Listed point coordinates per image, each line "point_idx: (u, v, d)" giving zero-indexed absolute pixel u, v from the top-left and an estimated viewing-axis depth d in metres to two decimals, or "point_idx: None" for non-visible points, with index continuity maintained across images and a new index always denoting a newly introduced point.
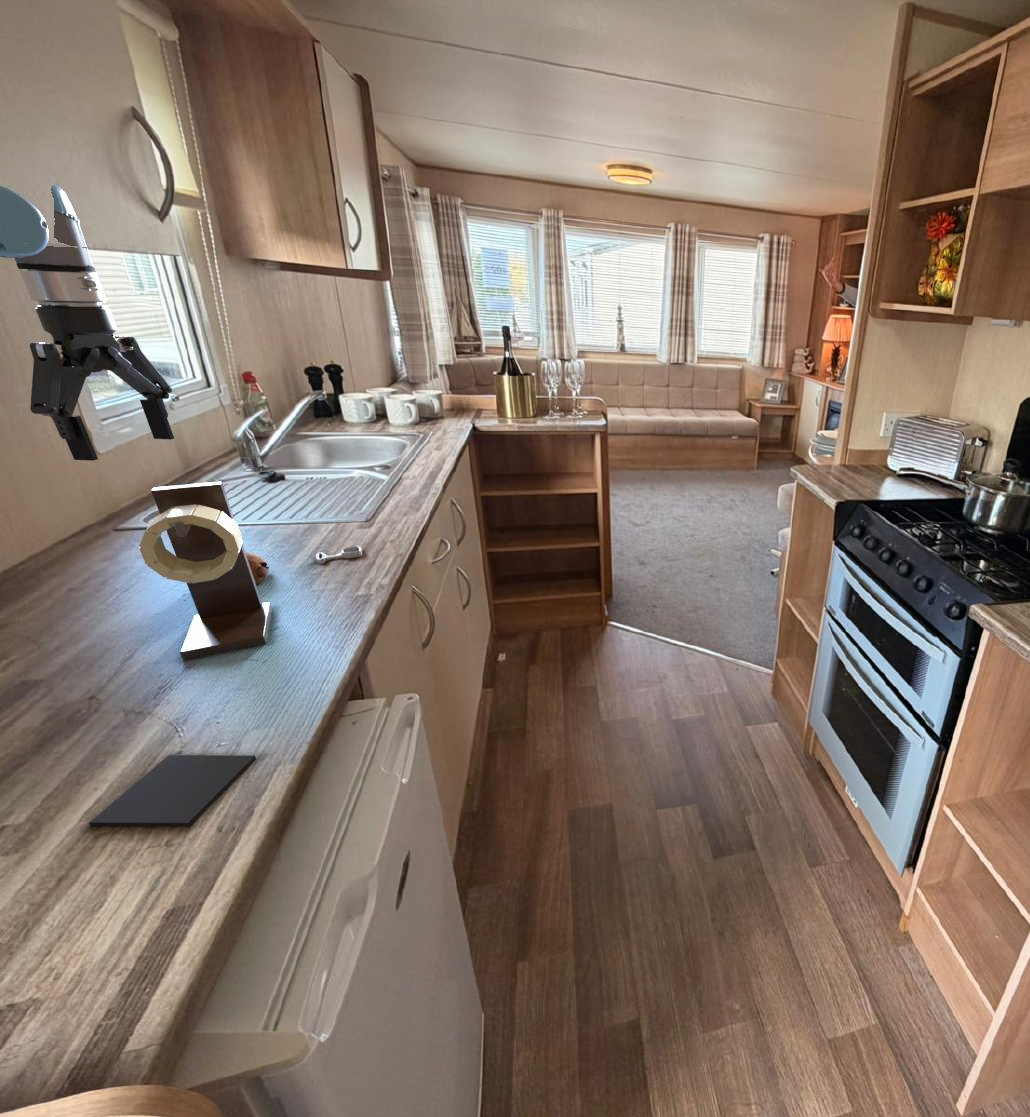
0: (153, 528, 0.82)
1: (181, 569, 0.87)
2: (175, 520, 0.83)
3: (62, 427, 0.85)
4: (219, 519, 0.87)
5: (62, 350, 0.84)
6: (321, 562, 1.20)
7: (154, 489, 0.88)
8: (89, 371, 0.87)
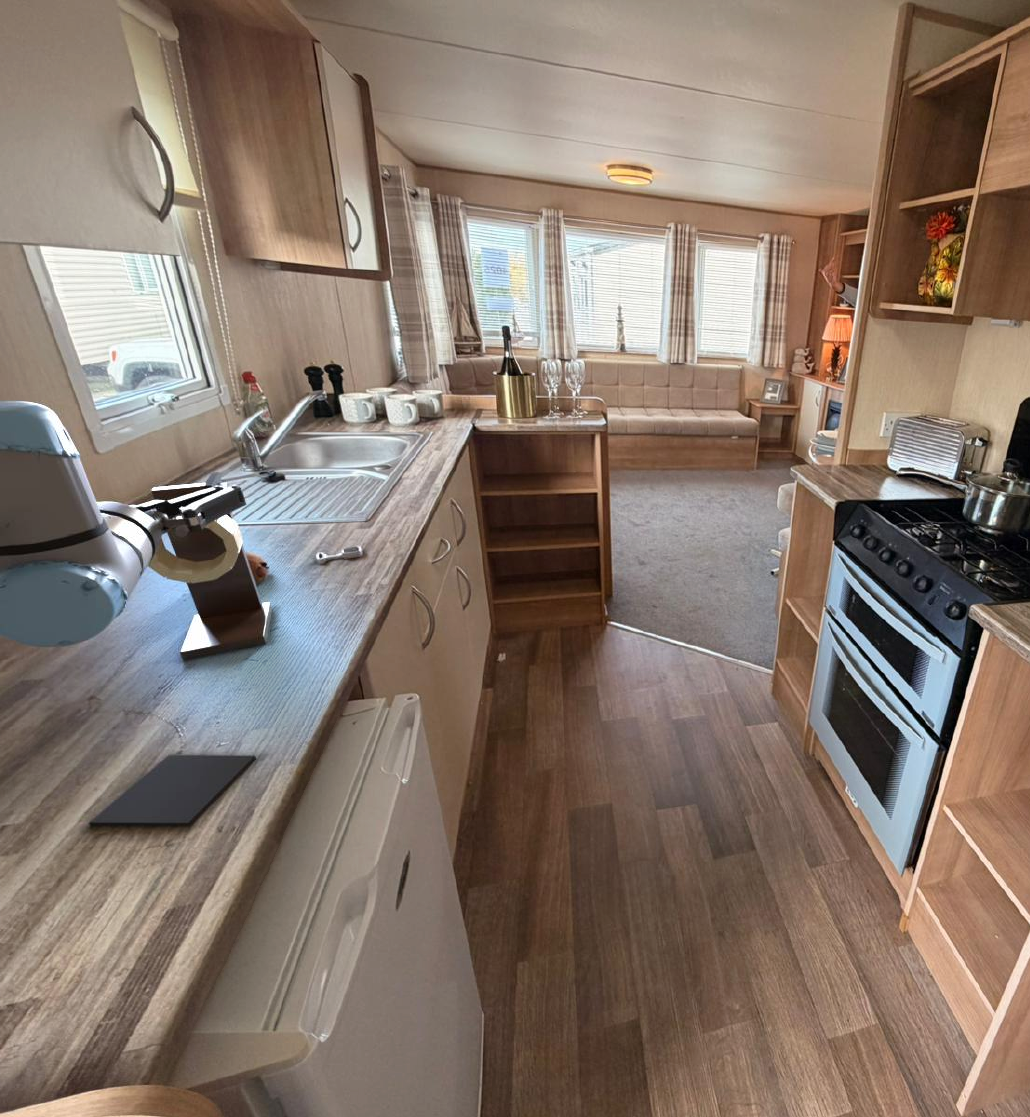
0: None
1: (181, 569, 0.87)
2: None
3: None
4: (219, 519, 0.87)
5: None
6: (321, 562, 1.20)
7: (154, 489, 0.88)
8: None
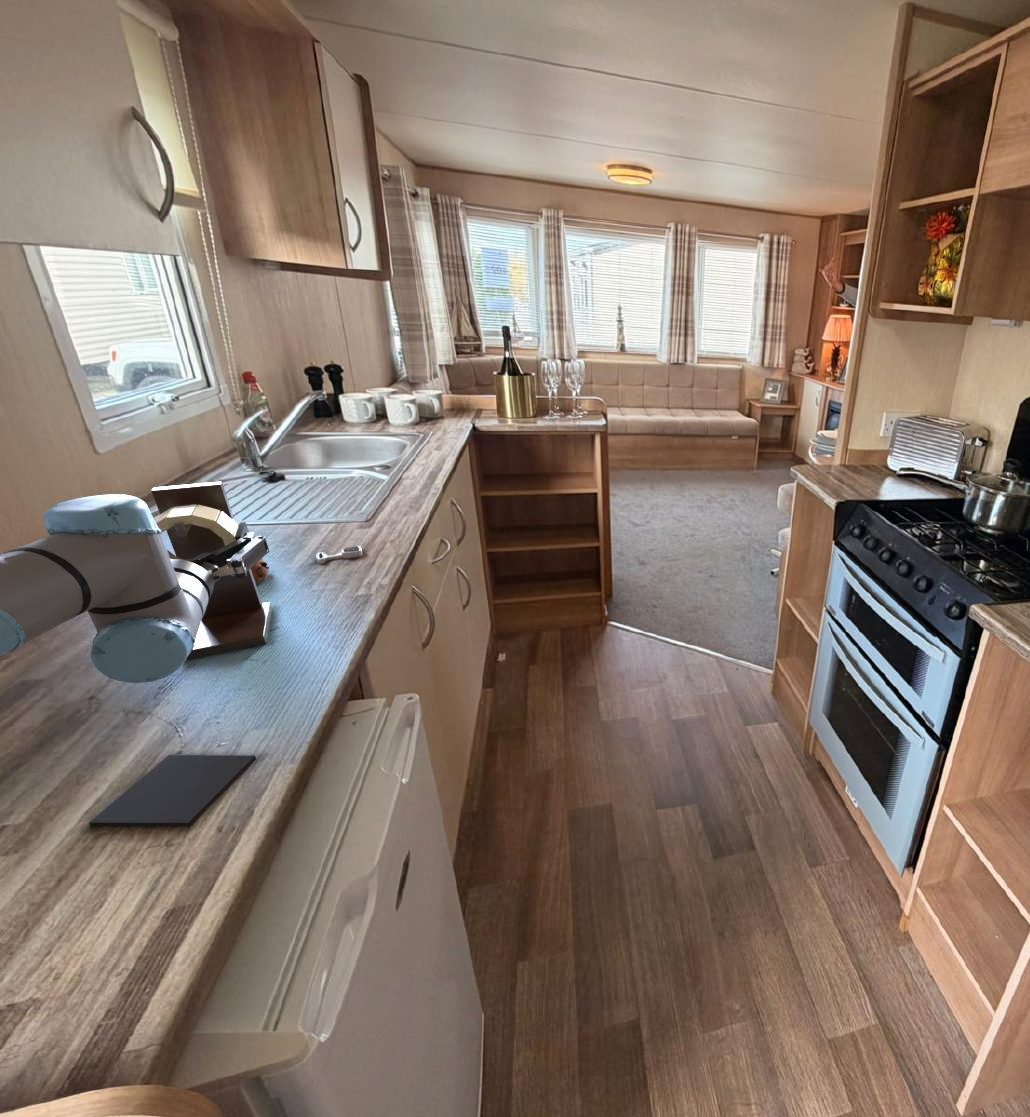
0: None
1: None
2: (175, 520, 0.83)
3: None
4: (219, 519, 0.87)
5: None
6: (321, 562, 1.20)
7: (154, 489, 0.88)
8: None
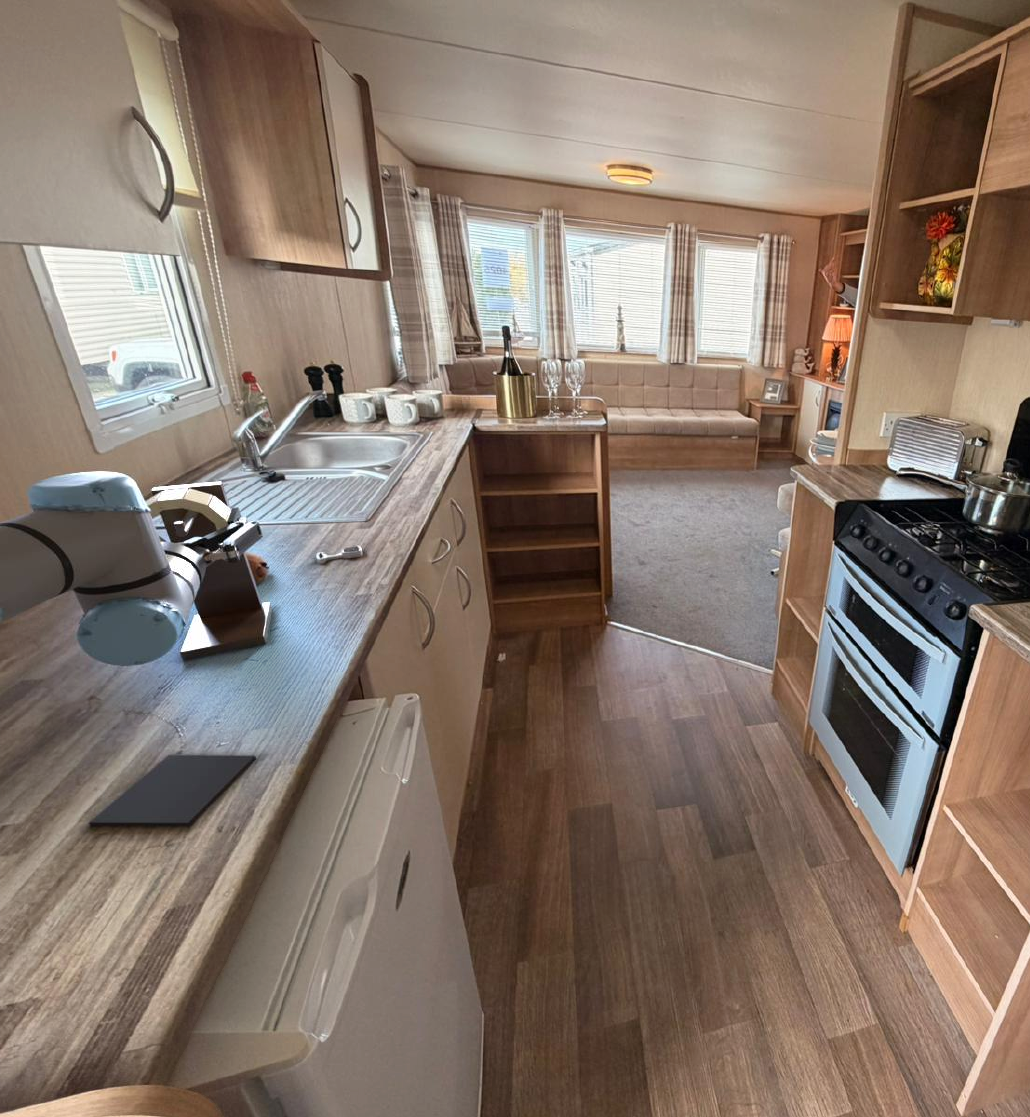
0: None
1: None
2: (166, 504, 0.81)
3: None
4: (211, 503, 0.85)
5: None
6: (321, 562, 1.20)
7: (154, 489, 0.88)
8: None
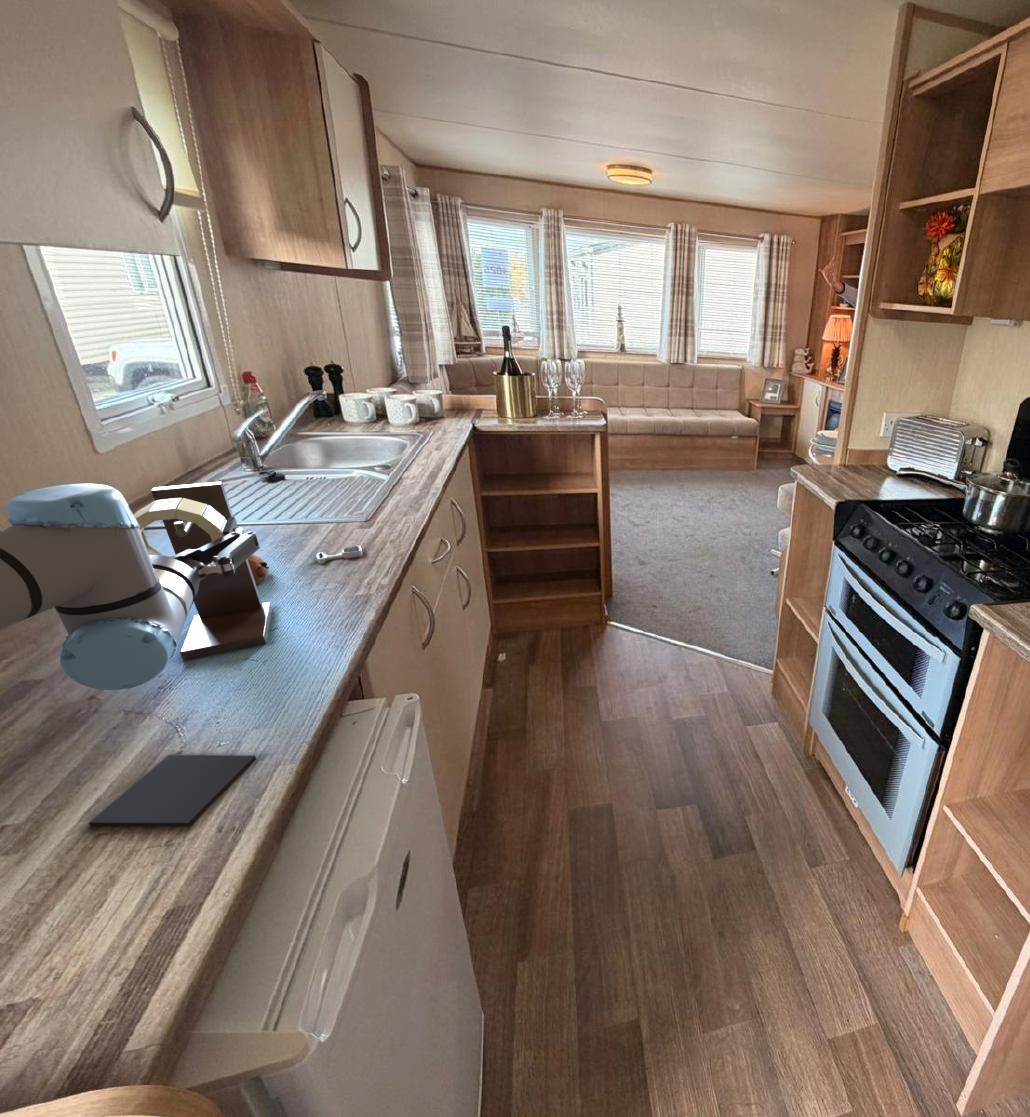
0: None
1: None
2: (158, 514, 0.78)
3: None
4: (206, 513, 0.82)
5: None
6: (321, 562, 1.20)
7: (154, 489, 0.88)
8: None
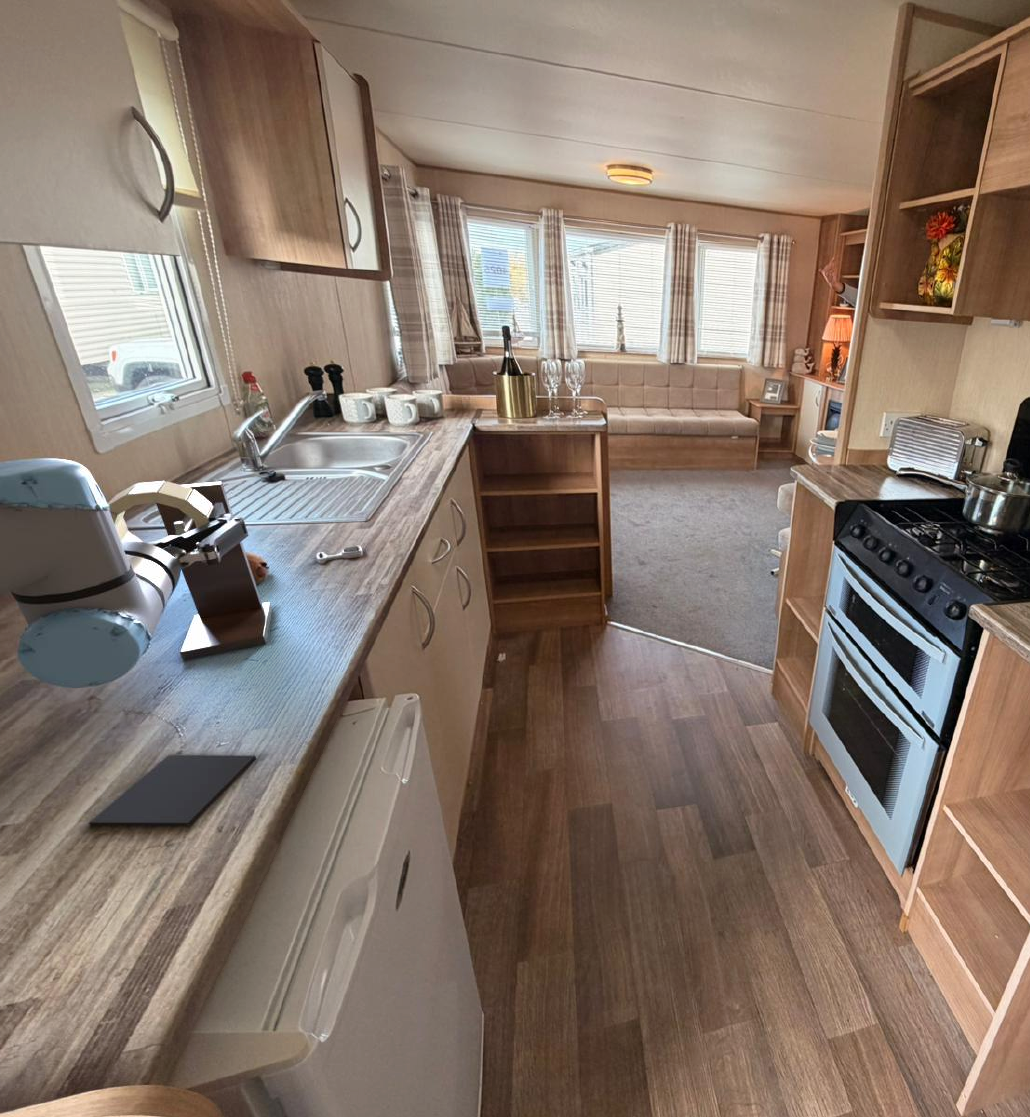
0: (112, 507, 0.71)
1: None
2: (138, 498, 0.72)
3: None
4: (190, 498, 0.76)
5: None
6: (321, 562, 1.20)
7: None
8: None
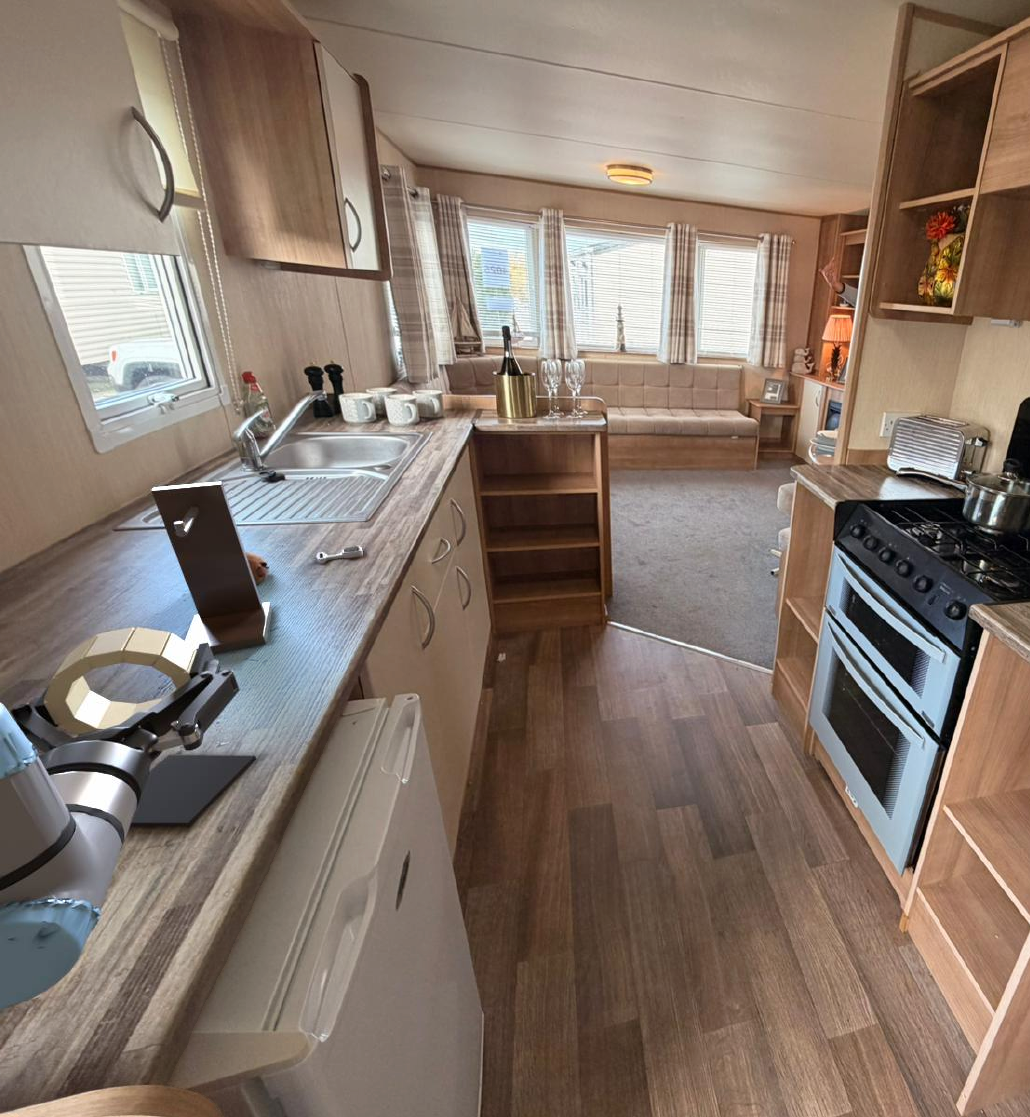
0: (65, 674, 0.56)
1: (112, 723, 0.60)
2: (98, 660, 0.57)
3: None
4: (166, 650, 0.61)
5: None
6: (322, 562, 1.20)
7: (154, 489, 0.88)
8: None
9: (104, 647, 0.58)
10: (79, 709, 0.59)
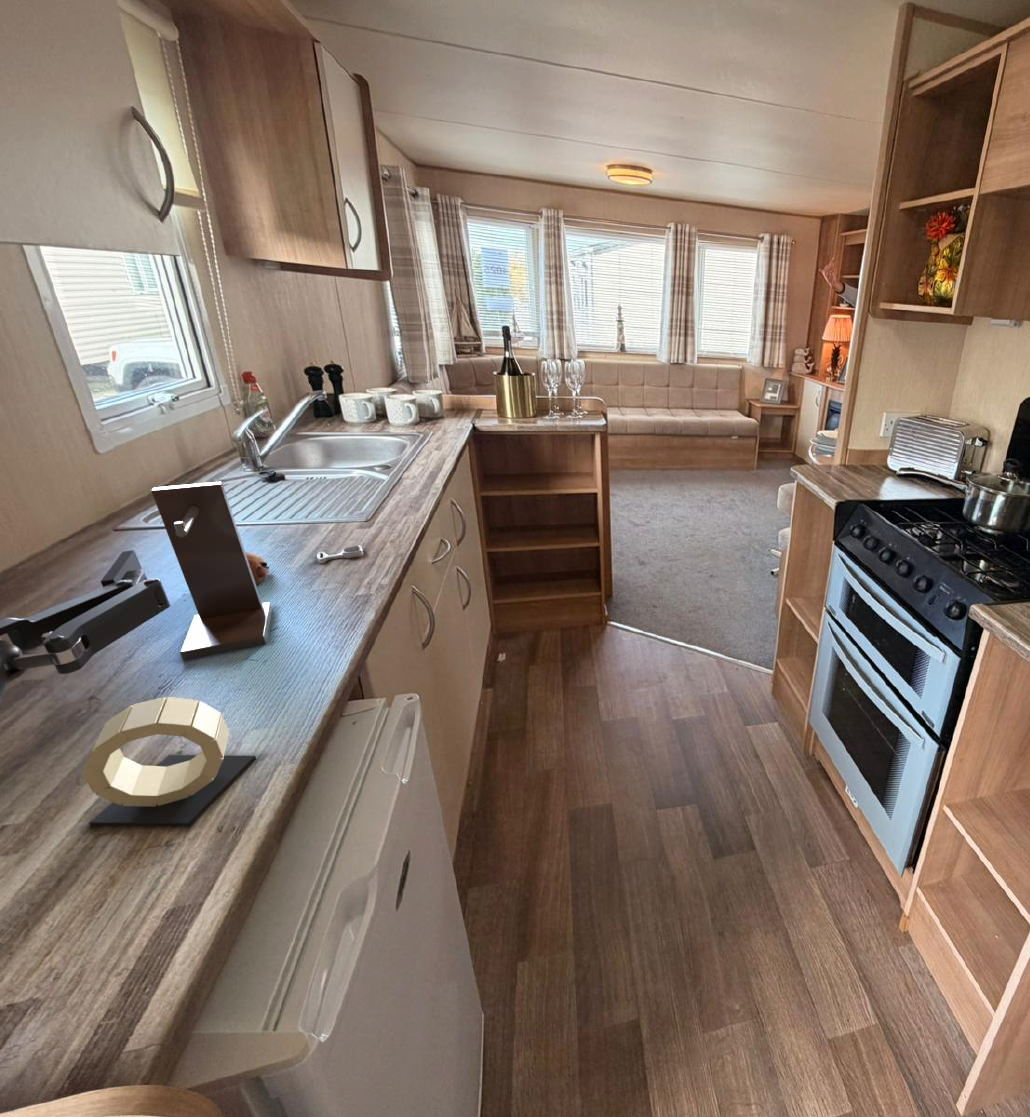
0: (103, 747, 0.60)
1: (144, 788, 0.64)
2: (134, 733, 0.61)
3: None
4: (196, 719, 0.64)
5: None
6: (322, 561, 1.20)
7: (154, 489, 0.88)
8: None
9: (139, 720, 0.62)
10: (114, 777, 0.62)
